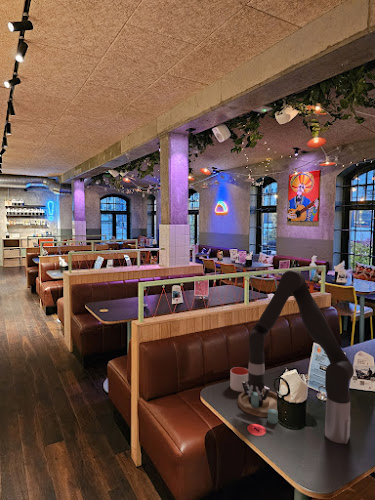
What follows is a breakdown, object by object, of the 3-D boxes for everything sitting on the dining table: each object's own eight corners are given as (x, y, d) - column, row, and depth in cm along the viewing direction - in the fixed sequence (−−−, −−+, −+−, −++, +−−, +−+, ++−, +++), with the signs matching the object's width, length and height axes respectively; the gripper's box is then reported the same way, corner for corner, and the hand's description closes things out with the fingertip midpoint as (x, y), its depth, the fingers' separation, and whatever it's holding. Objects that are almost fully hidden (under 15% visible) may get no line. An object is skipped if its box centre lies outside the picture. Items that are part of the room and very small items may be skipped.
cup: (226, 387, 188) (226, 370, 187) (239, 382, 194) (239, 365, 193) (239, 395, 180) (240, 377, 179) (252, 389, 186) (253, 371, 186)
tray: (291, 401, 174) (291, 396, 174) (275, 424, 155) (275, 418, 155) (249, 389, 187) (249, 383, 187) (229, 408, 168) (229, 402, 168)
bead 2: (278, 422, 157) (279, 410, 156) (275, 427, 153) (275, 415, 153) (269, 419, 159) (269, 407, 159) (265, 423, 156) (266, 412, 155)
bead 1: (261, 405, 166) (262, 394, 165) (258, 409, 162) (258, 398, 162) (253, 402, 168) (253, 391, 168) (249, 406, 165) (249, 395, 164)
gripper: (273, 371, 163) (272, 406, 164) (245, 364, 171) (245, 397, 172) (267, 377, 156) (266, 413, 158) (239, 369, 164) (238, 404, 166)
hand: (255, 404), depth 165 cm, fingers closed on bead 1, 4 cm apart
